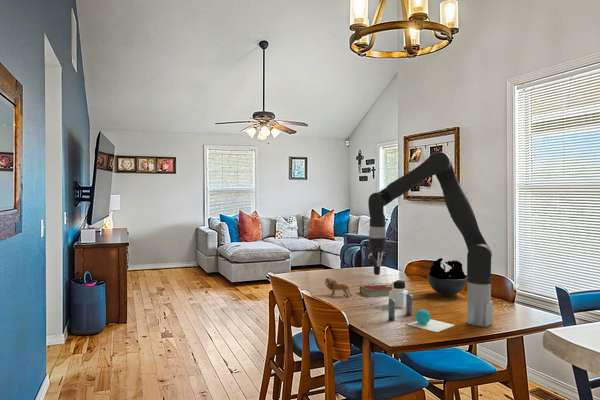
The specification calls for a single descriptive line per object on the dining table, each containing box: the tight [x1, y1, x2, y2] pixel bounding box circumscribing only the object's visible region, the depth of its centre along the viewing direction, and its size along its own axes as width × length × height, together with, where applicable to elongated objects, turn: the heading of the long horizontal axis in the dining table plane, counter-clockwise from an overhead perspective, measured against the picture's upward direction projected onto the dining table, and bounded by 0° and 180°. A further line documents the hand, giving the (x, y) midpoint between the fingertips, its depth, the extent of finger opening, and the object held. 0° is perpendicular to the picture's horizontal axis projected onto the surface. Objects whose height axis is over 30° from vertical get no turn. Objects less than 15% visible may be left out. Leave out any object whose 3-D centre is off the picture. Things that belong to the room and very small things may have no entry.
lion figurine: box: [324, 277, 353, 298], centre depth 244 cm, size 15×5×9 cm, turn 74°
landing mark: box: [406, 318, 456, 333], centre depth 192 cm, size 14×14×1 cm
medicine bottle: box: [388, 279, 409, 309], centre depth 224 cm, size 7×7×12 cm
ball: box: [415, 309, 431, 324], centre depth 194 cm, size 6×6×6 cm
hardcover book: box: [359, 283, 393, 298], centre depth 251 cm, size 12×21×4 cm, turn 107°
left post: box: [387, 298, 396, 322], centre depth 199 cm, size 3×3×9 cm
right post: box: [405, 293, 413, 317], centre depth 208 cm, size 3×3×9 cm
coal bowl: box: [427, 257, 468, 297], centre depth 247 cm, size 20×20×19 cm
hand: (376, 274), depth 212 cm, fingers closed
